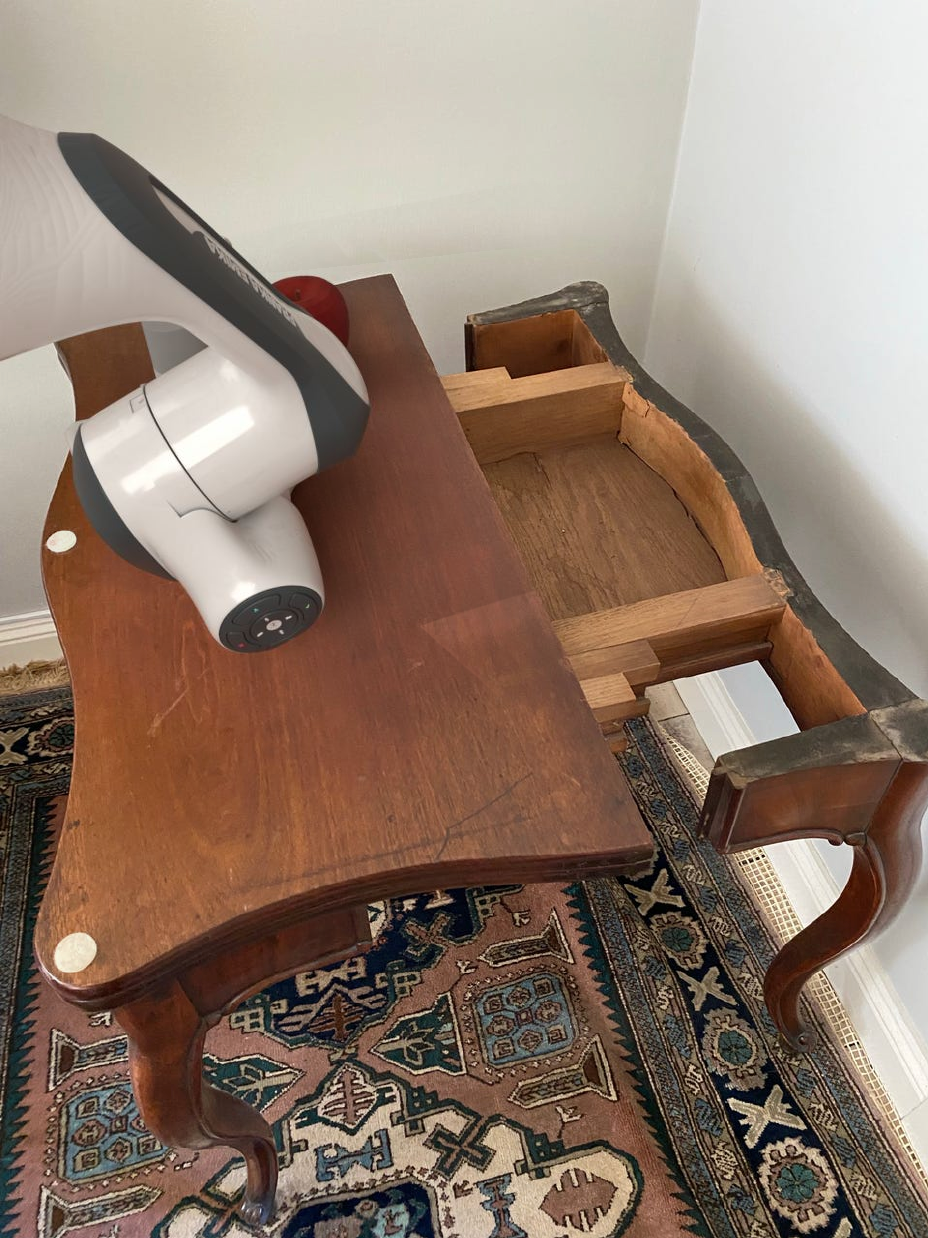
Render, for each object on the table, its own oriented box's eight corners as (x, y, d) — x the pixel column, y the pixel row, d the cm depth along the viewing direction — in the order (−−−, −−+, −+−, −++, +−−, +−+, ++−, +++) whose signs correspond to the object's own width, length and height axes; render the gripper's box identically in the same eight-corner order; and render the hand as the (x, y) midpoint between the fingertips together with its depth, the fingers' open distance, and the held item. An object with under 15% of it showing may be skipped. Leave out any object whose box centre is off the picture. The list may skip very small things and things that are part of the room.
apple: (247, 368, 95) (228, 279, 88) (326, 339, 99) (314, 251, 91) (290, 411, 90) (274, 320, 83) (372, 379, 94) (363, 289, 86)
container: (200, 491, 80) (157, 339, 69) (174, 466, 82) (128, 314, 71) (246, 469, 82) (211, 317, 71) (219, 445, 84) (181, 295, 73)
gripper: (349, 412, 68) (300, 323, 76) (68, 478, 63) (49, 375, 71) (357, 478, 73) (310, 387, 81) (96, 545, 67) (75, 440, 76)
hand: (186, 381), depth 76 cm, fingers closed on container, 4 cm apart
